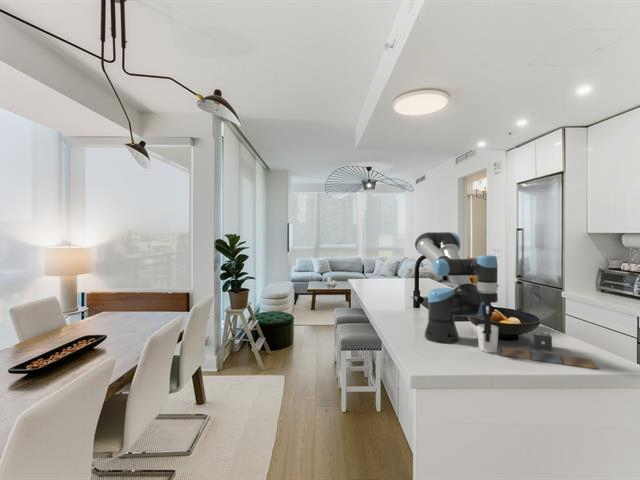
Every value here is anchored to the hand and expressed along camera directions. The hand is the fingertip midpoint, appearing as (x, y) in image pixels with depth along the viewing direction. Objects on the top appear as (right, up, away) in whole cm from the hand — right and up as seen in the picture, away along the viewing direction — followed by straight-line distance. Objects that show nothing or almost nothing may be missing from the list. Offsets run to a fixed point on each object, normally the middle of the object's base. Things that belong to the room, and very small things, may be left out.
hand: (487, 345), depth 134 cm
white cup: (0, -2, 0) cm, 2 cm away
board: (+18, -2, -9) cm, 20 cm away
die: (+25, -2, +3) cm, 25 cm away
